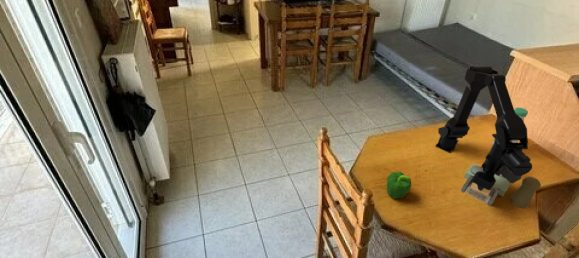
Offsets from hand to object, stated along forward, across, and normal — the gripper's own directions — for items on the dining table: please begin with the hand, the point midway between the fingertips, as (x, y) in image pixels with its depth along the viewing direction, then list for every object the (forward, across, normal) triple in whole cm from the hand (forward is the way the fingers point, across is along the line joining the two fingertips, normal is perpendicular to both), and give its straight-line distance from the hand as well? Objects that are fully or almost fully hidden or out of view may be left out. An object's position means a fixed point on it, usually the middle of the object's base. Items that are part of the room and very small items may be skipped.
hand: (481, 186), depth 115 cm
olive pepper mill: (+4, +6, -12) cm, 14 cm away
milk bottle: (+4, +34, +2) cm, 34 cm away
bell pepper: (+4, -22, +22) cm, 31 cm away
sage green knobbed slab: (+4, +8, 0) cm, 9 cm away
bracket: (+4, 0, 0) cm, 4 cm away
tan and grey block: (+1, 0, 0) cm, 1 cm away
